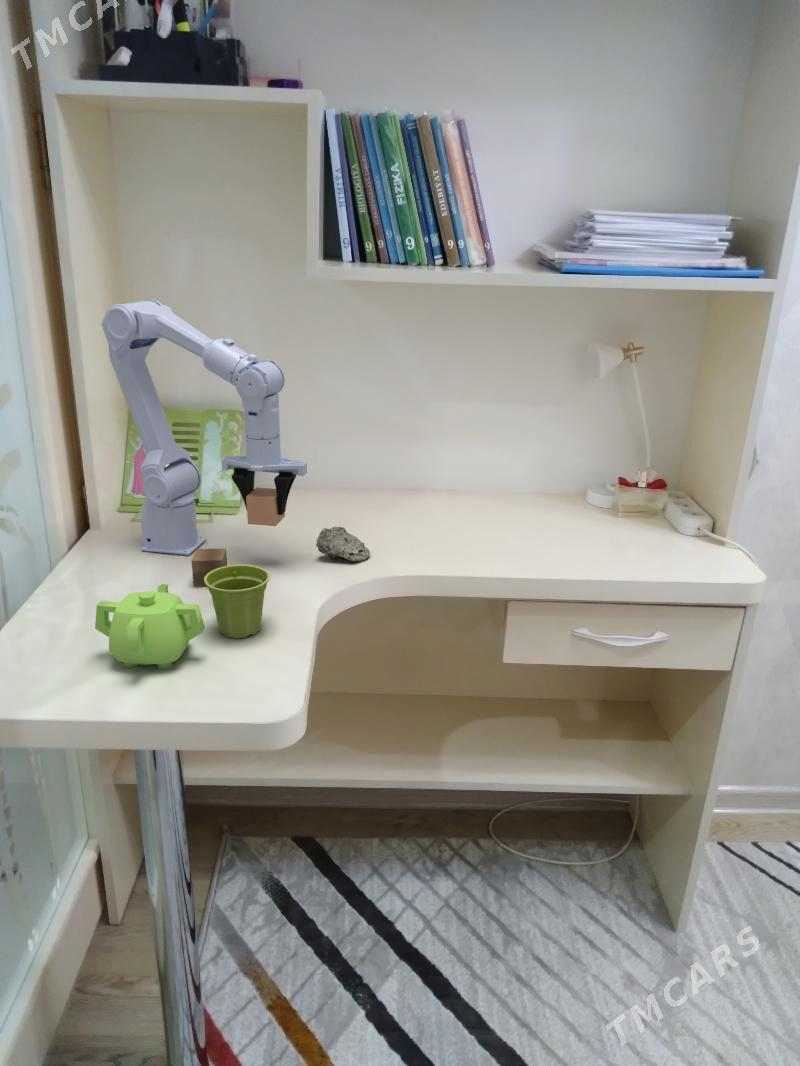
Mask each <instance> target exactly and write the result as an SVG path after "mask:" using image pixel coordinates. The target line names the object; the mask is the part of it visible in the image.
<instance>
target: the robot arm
mask: <svg viewBox="0 0 800 1066" xmlns="http://www.w3.org/2000/svg"><path fill="white" fill-rule="evenodd" d="M101 327H102V330H103V333H104V335H105V338H106V340H107V343H108V356H109V359H110V360H109V361H110V363H111V366H112V368H113V371H114V373H115V375H116V378H117V381H118V384H119V386H120V388H121V389H120V390H121V391H122V394H123V397H124V399H125V402H126V404H127V407H128V409H129V412H130V415H131V417H132V420H133V422H134V425H135V428H136V430H137V433H138V435H139V438H140V441H141V443H142V444H141V445H142V446H143V449H144V452H145V453H146V455H145V457H144V459H143V461H142V464H141V465H140V468H139V471H140V474H141V477H142V490H143V493H144V495H145V496H146V499H145V500H144V502H143V504H142V505H141V509H140V515H139V516H140V518H139V519H140V529H141V538H142V539H141V540H142V547H141V551H143V552H151V553H153V552H154V553H163V554H172V555H181V556H183V555H185V556H188V555H191V554H192V553H193V552H195V551H196V549H199V547H200V546H201V545H203V543H204V542H206V540H207V537H206V536H199V535H198V527H197V526H198V525H197V524H198V523H197V513H196V501H195V500H196V499H195V498H196V497H197V490H199V489H200V487H201V485H202V480H203V479H202V473H201V470H200V469H199V467H198V466H197V464H196V463H195V462H194V461H193V460H192V458H191V455H190V451H188V450H186V449H185V448H183V447H181V446H179V445H178V444H177V442H176V440H175V438H174V435H173V432H172V429H171V427H170V426H171V425H170V424H169V421H168V419H167V416H166V413H165V410H164V409H163V408H164V407H163V405H162V403H161V399H160V397H159V395H158V392H157V388H156V387H155V383H154V381H153V378H152V376H151V373H150V370H149V368H148V365H147V363H146V359H147V356H148V354H149V352H150V350H151V348H152V347H153V346H154V345H155V344H156V343H157V342H158V341H159V340H160V338H161V339H166V340H167V341H169V342H171V343H173V344H175V345H177V346H179V347H181V348H183V349H184V350H186V351H188V352H190V353H191V354H194V355H195V356H197V357H199V358H202V363H203V365H204V368H205V369H206V370H207V371H210V372H211V373H213V374H214V375H215V376H217V377H219V378H221V379H222V380H224V381H226V382H228V383H229V384H230V385H232V386H234V387H235V390H236V392H237V394H238V395H239V397H240V399H241V402H242V403H241V405H242V408H243V413H244V431H245V432H244V433H245V455H246V456H245V455H242V456H239V455H238V456H233V455H232V456H231V455H230V456H229V455H228V456H227V455H226V456H224V457H222V458H221V459H220V461H221V470H222V471H230V470H233V474H231V480H232V481H233V483H234V484H235V486H236V487H237V489H238V492H239V493H240V495H241V498H242V500H243V503H244V506H245V509H246V511H247V503H246V496H247V495H248V494H250V493H251V492H252V491H253V490H254V489H255V474H256V472H259V473H260V472H261V473H273V474H274V473H275V474H278V475H276V476H275V477H274V478H273V481H274V487H275V489H276V492H277V511H278V515H282V514H283V513H284V512H285V513H286V509H287V503H288V498H289V494H290V491H291V489H292V486H293V484H294V481H295V479H296V477H297V476H299V477H304V476H306V474H307V473H308V468H307V467H308V465H307V463H308V462H307V461H300V460H299V461H298V460H293V459H290V458H289V459H288V458H283V457H282V455H281V454H282V453H281V451H282V450H281V430H280V429H281V428H280V426H281V425H280V401H279V400H280V399H279V398H280V397H279V394H280V392H282V390H283V388H284V386H285V382H286V380H285V375H284V372H283V370H282V368H281V367H280V365H279V364H277V363H276V362H275V361H274V360H272V359H263V360H260V359H258V356H257V355H255V354H254V353H252V354H250V353H248V352H247V351H245V350H244V349H241V348H240V347H238V346H237V345H235V340H233V339H231V338H221V337H220V338H216V339H212V338H210V337H209V336H207V335H206V334H204V333H203V332H201V331H200V330H198V329H197V328H195V327H194V326H192V325H191V324H190V323H189V322H187V321H185V320H183V319H182V318H181V317H179V316H178V315H177V314H175V313H174V312H173V310H172V309H171V307H170V306H167V305H165V304H163V303H161V302H160V301H158V300H156V299H150V298H149V299H146V300H143V301H136V302H128V303H127V302H126V303H114V304H112V305H110V306H109V307H108V308H107V310H106V311H105V314H104V317H103V319H102V321H101Z"/></svg>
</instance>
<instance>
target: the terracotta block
mask: <svg viewBox="0 0 800 1066" xmlns="http://www.w3.org/2000/svg"><path fill="white" fill-rule="evenodd" d="M246 503H247V510H246V513H247V514H246V517H247V525H254V526H268V527H276V526H277V525H279V523H280V522H281V521H282V520H283V519H284V518H285V517H286V511H285V512H284V513H283V514H282V515H278V511H277V492H276V488H270V487H269V488H268V487H267V488H266V487H258V486H257V487H254V490H253V491H252V492H251V493H250V494H248V495H247V496H246Z"/></svg>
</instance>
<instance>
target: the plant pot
mask: <svg viewBox="0 0 800 1066" xmlns="http://www.w3.org/2000/svg"><path fill="white" fill-rule="evenodd" d="M229 565H230V566H229ZM229 565H227V566H224V567H220V568H217V569H215V570H213V571H211V572H209V573H208V574H207V575H206V576H205V578H204V582H205V584H206V586H207V587H208V588H207V589H208V592H209V594H210V595H211V599H212V604H213V607H214V612H215V617H216V621H217V626H218V630H219V632H220V633H222V634H223V636H224V637H227V638H231V639H244V638H245V639H246V638H247V637H248V636H250V635H256V634H257V633H258V631H261V627H262V626H261V625H262V620H263V619H262V617H263V608H264V599H265V598H264V597H265V591H266V589H267V586H268V585H267V584H268V582H269V581H270V580H271V579H270V577H271V576H270V573H269V571H267V569H265V568H263V567H260V566H256V565H250V564H229Z"/></svg>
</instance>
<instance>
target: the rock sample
mask: <svg viewBox="0 0 800 1066" xmlns="http://www.w3.org/2000/svg"><path fill="white" fill-rule="evenodd" d="M327 527H328V526H326V527H323V529H322V530H320V532H319V535H318V536H317V539H316V541H315V543H314V544H315V547H316V548H317V549H318V551H319V553H322V554H325V555H327V556H328V557H329V558H331V557H335V558H338V557H340V558H341V559H342V558H343V559H345V560H348V561H351V562H364V561H366V560H367V559H368V558H369V556H370V555H371V553H370V550H369V548H368V547H366V545H365V542H363V541H361V540H360V539H359V538H358V537H357V536H356V535H353V534H352V533H348V531H347V530H346V528H345V527H343V526H332V527H330V528H327Z"/></svg>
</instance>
